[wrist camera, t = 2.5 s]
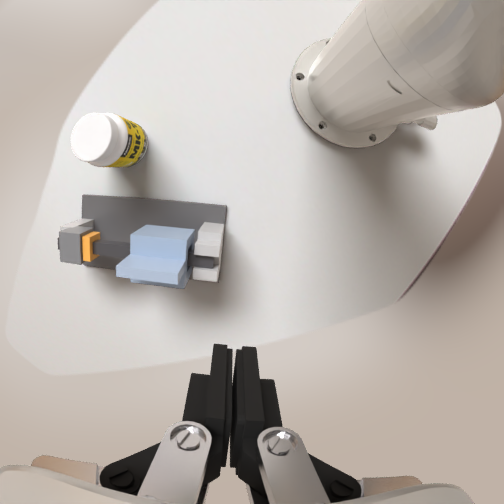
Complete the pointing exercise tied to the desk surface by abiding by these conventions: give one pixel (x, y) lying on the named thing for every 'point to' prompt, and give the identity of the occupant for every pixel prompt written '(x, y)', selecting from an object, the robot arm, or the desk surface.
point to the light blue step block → (158, 256)
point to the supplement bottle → (108, 140)
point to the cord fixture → (133, 218)
